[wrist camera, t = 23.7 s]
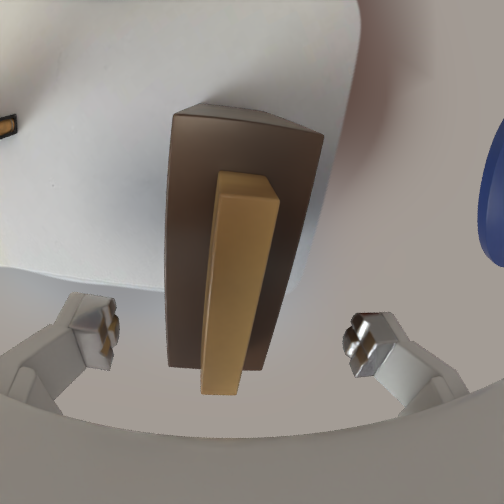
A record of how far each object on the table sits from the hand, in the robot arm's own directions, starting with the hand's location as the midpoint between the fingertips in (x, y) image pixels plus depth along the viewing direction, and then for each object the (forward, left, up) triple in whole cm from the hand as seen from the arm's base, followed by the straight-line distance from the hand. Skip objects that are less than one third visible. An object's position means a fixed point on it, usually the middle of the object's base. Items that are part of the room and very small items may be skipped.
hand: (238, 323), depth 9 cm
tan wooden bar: (0, 0, -3) cm, 3 cm away
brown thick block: (0, 0, -16) cm, 16 cm away
